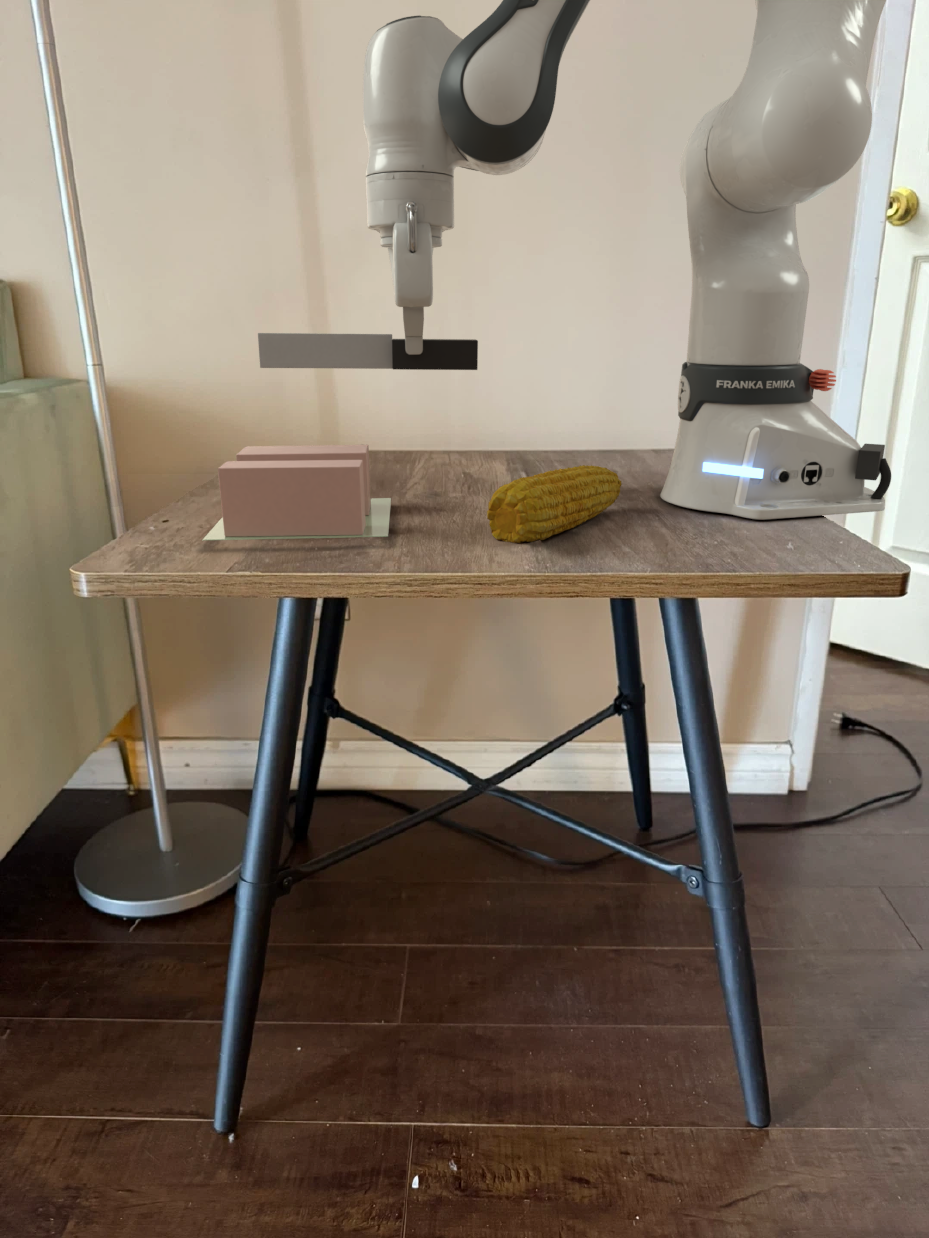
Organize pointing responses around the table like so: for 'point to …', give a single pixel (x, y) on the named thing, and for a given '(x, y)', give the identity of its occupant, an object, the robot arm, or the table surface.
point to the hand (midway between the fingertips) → (413, 353)
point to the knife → (363, 352)
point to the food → (550, 502)
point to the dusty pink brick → (292, 498)
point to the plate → (374, 528)
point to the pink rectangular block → (313, 457)
